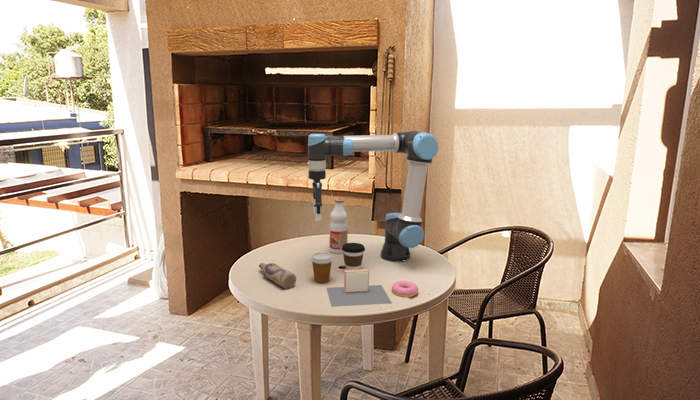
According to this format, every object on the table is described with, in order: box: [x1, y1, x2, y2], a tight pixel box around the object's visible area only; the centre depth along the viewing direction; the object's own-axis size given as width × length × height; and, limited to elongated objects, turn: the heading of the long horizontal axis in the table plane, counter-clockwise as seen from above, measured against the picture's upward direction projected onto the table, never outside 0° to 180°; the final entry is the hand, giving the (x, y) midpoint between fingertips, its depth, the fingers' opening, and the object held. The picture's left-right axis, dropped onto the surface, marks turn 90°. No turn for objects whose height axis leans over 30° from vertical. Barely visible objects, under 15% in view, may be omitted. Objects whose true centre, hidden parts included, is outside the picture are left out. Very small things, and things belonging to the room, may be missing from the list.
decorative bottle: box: [258, 262, 297, 290], centre depth 199 cm, size 26×8×7 cm, turn 39°
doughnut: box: [391, 280, 419, 298], centre depth 187 cm, size 11×11×4 cm
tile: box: [343, 268, 370, 293], centre depth 186 cm, size 10×2×9 cm, turn 100°
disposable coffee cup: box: [310, 252, 334, 284], centre depth 196 cm, size 10×10×12 cm
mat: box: [325, 284, 393, 308], centre depth 183 cm, size 24×18×1 cm
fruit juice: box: [329, 198, 349, 255], centre depth 235 cm, size 9×9×28 cm
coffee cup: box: [342, 242, 366, 270], centre depth 210 cm, size 11×11×12 cm
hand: (317, 216), depth 201 cm, fingers open, 13 cm apart
